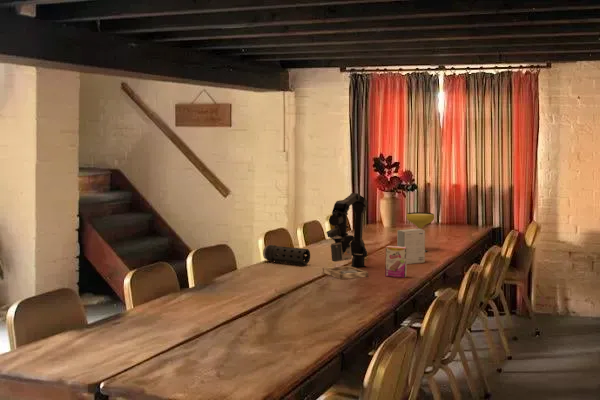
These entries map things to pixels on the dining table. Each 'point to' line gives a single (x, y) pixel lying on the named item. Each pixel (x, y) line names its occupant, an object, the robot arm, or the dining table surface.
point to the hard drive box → (412, 244)
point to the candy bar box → (396, 261)
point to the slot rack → (337, 273)
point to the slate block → (348, 271)
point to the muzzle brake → (286, 255)
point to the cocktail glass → (420, 219)
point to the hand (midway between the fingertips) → (341, 251)
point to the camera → (340, 252)
